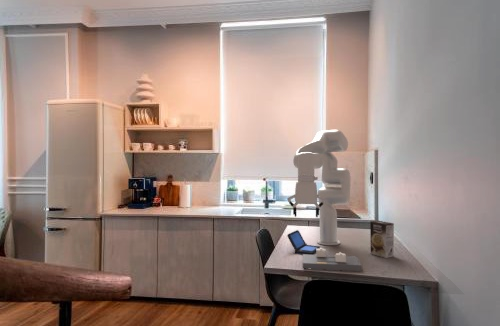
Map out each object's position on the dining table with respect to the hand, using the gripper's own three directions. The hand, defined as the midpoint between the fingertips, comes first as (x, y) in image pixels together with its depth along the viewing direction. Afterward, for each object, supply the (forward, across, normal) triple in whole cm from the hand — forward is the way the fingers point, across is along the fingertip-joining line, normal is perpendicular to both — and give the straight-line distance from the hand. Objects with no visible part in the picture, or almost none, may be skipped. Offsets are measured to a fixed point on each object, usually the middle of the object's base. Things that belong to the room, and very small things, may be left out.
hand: (306, 216), depth 153 cm
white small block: (+18, -15, +7) cm, 24 cm away
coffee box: (+20, -37, -16) cm, 45 cm away
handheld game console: (+20, 0, -21) cm, 29 cm away
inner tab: (+18, -7, 0) cm, 19 cm away
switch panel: (+21, -11, +4) cm, 23 cm away
